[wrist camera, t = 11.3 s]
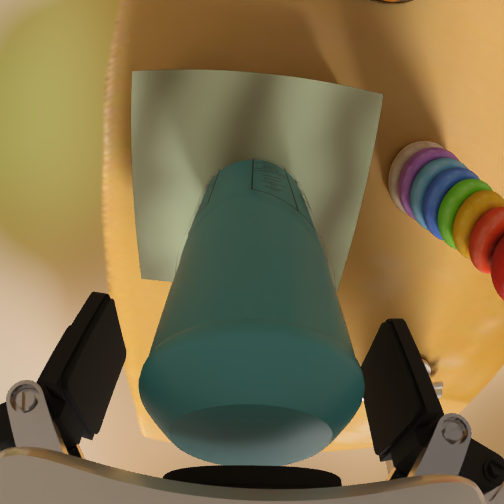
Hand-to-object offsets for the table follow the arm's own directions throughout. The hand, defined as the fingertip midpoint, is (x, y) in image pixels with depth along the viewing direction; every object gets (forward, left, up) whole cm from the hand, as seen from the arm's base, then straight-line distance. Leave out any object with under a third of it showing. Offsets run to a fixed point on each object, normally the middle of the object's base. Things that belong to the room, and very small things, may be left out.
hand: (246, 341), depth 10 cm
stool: (0, 0, -21) cm, 21 cm away
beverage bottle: (0, 0, -13) cm, 13 cm away
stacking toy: (-17, -1, -21) cm, 27 cm away
